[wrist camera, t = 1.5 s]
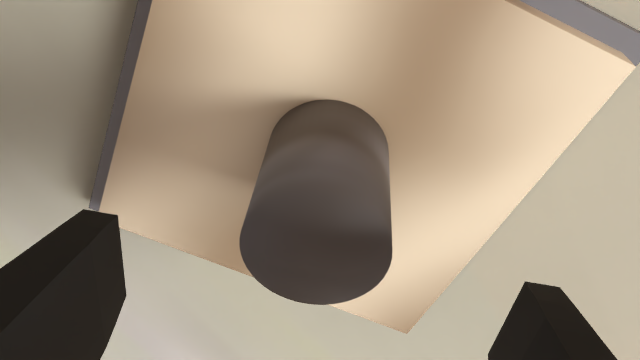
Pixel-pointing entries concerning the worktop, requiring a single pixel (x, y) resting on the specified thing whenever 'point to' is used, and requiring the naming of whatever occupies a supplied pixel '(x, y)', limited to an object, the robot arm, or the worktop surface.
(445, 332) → the worktop surface
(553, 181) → the worktop surface
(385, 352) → the worktop surface
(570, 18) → the mat
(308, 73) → the lid
